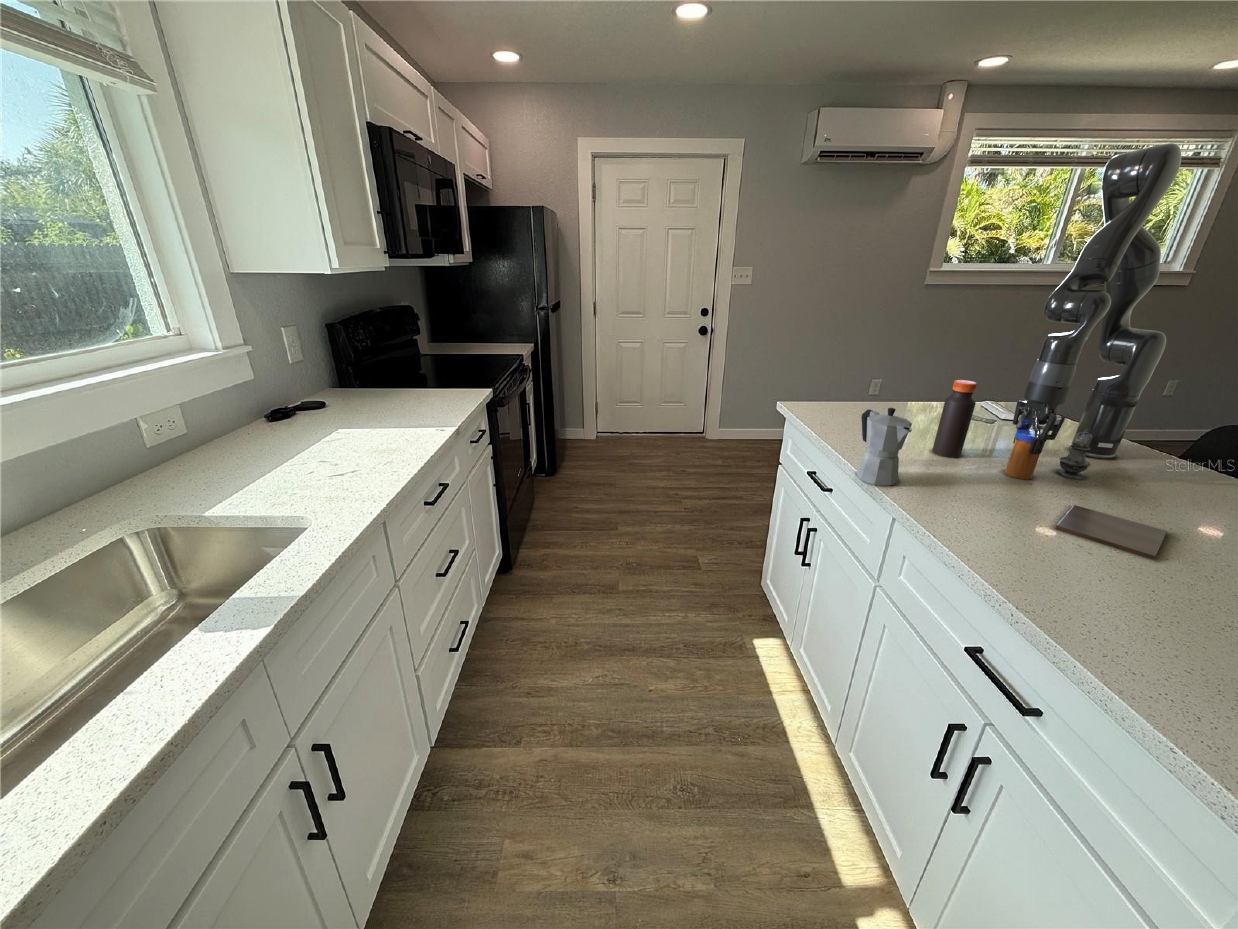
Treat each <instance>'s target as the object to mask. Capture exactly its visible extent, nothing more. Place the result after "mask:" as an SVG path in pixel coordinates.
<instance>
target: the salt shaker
mask: <svg viewBox="0 0 1238 929" xmlns="http://www.w3.org/2000/svg"><path fill="white" fill-rule="evenodd" d="M1091 440H1092V435H1091V434H1090V433H1088V429H1086V430H1085V432H1080V433H1078V434H1077V435H1076V438H1075V441H1074V443H1073V444H1072V443H1071V444H1072V445H1071V444H1070V445H1071V450H1070V449H1069V450H1070V451H1069V453H1068V454H1067V456H1060V457H1059V458H1058V459H1059V466H1060V467H1061V469H1057V470H1056V471H1055V473H1056V474H1057V475H1058V476H1061V477H1065V478H1068V479H1074V480H1075V479H1076V480H1081V479H1082V480H1083V479H1084V477H1085V476H1084V475H1083V474H1082V472H1085V471H1086V470H1087V469H1088V467H1090V466H1091V465H1092V464H1091V463H1090V462H1089V461H1087V460H1086V457H1087V456H1086V454H1087V451H1088V450H1089V449H1090V448H1089V445H1090V442H1091Z"/></svg>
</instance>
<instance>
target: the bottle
mask: <svg viewBox="0 0 1238 929" xmlns="http://www.w3.org/2000/svg"><path fill="white" fill-rule="evenodd" d="M977 385H978V383H977V382H975V381H972V380H965V379H955V380H954V381H953V385H952V390H951V391H952V394H951V395H948V397H946V398H945V400H944V403H943V407H942V411H941V415H940V419H939V422H938V426H937V430H936V434H935V437H934V442H933V445H932V453H934V454H935V455H937V456H941V457H946V458H958V457H961V455H962V452H963V449H964V446H965V442H966V438H967V434H968V432H969V429H970V424H971V421H972V418H973V414H974V410H975V408H976V404H977V403H976V400H975V399H974V398H973V395H974V394H975V392H976V389H977Z"/></svg>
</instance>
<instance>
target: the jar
mask: <svg viewBox="0 0 1238 929" xmlns="http://www.w3.org/2000/svg"><path fill="white" fill-rule="evenodd" d="M1031 444H1032V443H1030V442H1025V441H1022V440H1019V439H1017V438H1016V439H1015V442H1014V443H1013V446H1012V448H1011V451H1010V454H1009V458H1008V460H1007V464H1006V467H1005V470H1004V474H1005V475H1007V476H1009V477H1011V478H1014V479H1019V480H1031V479H1032V478H1033V475H1034V472H1035V470H1036V466H1037V464H1038V462H1039V458H1040V456H1041V454H1039V455H1036V454H1030V453H1029V450H1030V447H1031Z"/></svg>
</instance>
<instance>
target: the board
mask: <svg viewBox="0 0 1238 929" xmlns="http://www.w3.org/2000/svg"><path fill="white" fill-rule="evenodd" d="M1054 529H1055V530H1057V531H1061V532H1064V533H1066V534H1070V535H1073V536H1077V537H1080V538H1084V539H1086V540H1089V541H1093V542H1095V543H1099V544H1102V545H1105V546H1109V547H1111V548H1115V549H1119V550H1122V551H1124V552H1127V553H1131V554H1134V555H1137V556H1140V557H1143V558H1147V559H1150V560H1155V558H1156V556H1157V555H1158V552H1159V549H1160V547H1161V545H1162V543H1163V541H1164V539H1165V537H1166V535H1167V530H1166V529H1161V528H1157V527H1155V526H1150V525H1148V524H1144V523H1140V522H1138V521H1134V520H1130V519H1126V518H1123V517H1119V516H1116V515H1111V514H1108V513H1104V512H1101V511H1097V510H1093V509H1091V508H1087V507H1083V506H1079V505H1077V504H1074V505H1073V506H1072V507H1071V508H1070V509H1069V510H1068V511H1067V512H1066V514H1065V515H1064V516H1063V517H1062V519H1061V520H1059V521H1058V523H1057V524H1056V526H1055V528H1054Z"/></svg>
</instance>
